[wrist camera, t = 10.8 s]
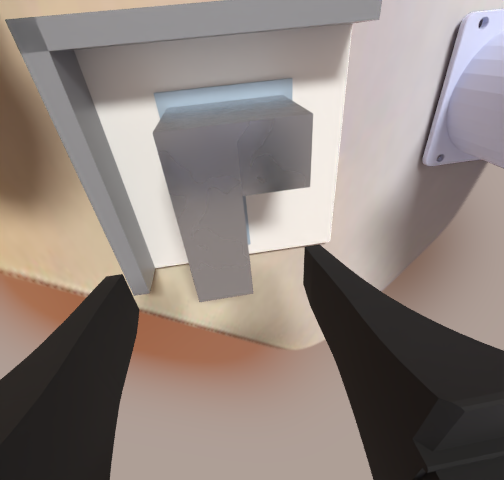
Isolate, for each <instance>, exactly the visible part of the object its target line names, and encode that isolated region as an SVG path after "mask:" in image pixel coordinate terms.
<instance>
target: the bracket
mask: <svg viewBox="0 0 504 480" xmlns="http://www.w3.org/2000/svg"><path fill="white" fill-rule="evenodd" d="M312 133H313V113H312V112H310V111H308V110H307V109H305V108H304V107H302V106H300V105H299V104H297V103H295V102H294V101H292V100H291V99H289V98H287V97H286V96H284V95H276V96H267V97H258V98H249V99H241V100H232V101H223V102H214V103H205V104H197V105H188V106H179V107H170V108H167V109H166V111H165V112H164V114H163V116H162V117H161V119H160V121H159V122H158V124H157V126H156V128H155V129H154V131H153V133H152V134H153V137H154V141H155V144H156V148H157V151H158V155H159V159H160V162H161V166H162V169H163V173H164V176H165V180H166V184H167V187H168V191H169V194H170V198H171V202H172V205H173V209H174V212H175V216H176V219H177V223H178V227H179V230H180V234H181V237H182V241H183V244H184V248H185V252H186V255H187V259H188V262H189V266H190V270H191V273H192V277H193V280H194V284H195V287H196V291H197V295H198V298H199V302H204V301H210V300H216V299H222V298H228V297H235V296H241V295H247V294H253V285H252V276H251V267H250V258H249V249H248V240H247V231H246V222H245V213H244V204H243V196H248V195H255V194H263V193H270V192H277V191H284V190H292V189H299V188H306V187H310V179H311V156H312Z"/></svg>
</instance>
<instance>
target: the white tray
mask: <svg viewBox="0 0 504 480" xmlns="http://www.w3.org/2000/svg"><path fill="white" fill-rule="evenodd" d="M381 4H382V0H224V1H213V2H201V3H190V4H178V5H167V6H155V7H144V8H132V9H121V10H109V11H98V12H86V13H75V14H63V15H52V16H40V17H29V18H18V19H6V20H5V21H6V23H7V25H8V27H9V30H10V32H11V34H12V36H13V38H14V40H15V42H16V44H17V47H18V49H19V51H20V53H21V55H22V57H23V59H24V62H25V64H26V66H27V68H28V70H29V72H30V74H31V77H32V79H33V81H34V83H35V85H36V87H37V89H38V92H39V94H40V96H41V98H42V100H43V102H44V104H45V106H46V109H47V111H48V113H49V115H50V117H51V119H52V121H53V124H54V126H55V128H56V130H57V132H58V134H59V136H60V139H61V141H62V143H63V145H64V147H65V149H66V151H67V153H68V156H69V158H70V160H71V162H72V164H73V166H74V168H75V171H76V173H77V175H78V177H79V179H80V181H81V183H82V186H83V188H84V190H85V192H86V194H87V196H88V198H89V200H90V203H91V205H92V207H93V209H94V211H95V213H96V215H97V218H98V220H99V222H100V224H101V226H102V228H103V230H104V233H105V235H106V237H107V239H108V241H109V243H110V245H111V247H112V250H113V252H114V254H115V256H116V258H117V260H118V262H119V265H120V267H121V269H122V271H123V273H124V275H125V277H126V280H127V282H128V284H129V286H130V288H131V290H132V292H133V294H134V296H135V295H142V294H148V293H150V290H151V285H152V281H153V276H154V272H155V268H160V267H166V266H173V265H179V264H186V263H189V262H188V259H187V255H186V252H185V248H184V244H183V241H182V237H181V234H180V230H179V227H178V223H177V219H176V216H175V212H174V209H173V205H172V202H171V198H170V194H169V191H168V187H167V184H166V180H165V176H164V173H163V169H162V166H161V162H160V159H159V155H158V151H157V148H156V144H155V141H154V137H153V134H152V133H153V131H154V129H155V128H156V126H157V124H158V122H159V121H160V119H161V117H162V116H163V114H164V112H165V111H166V109H167V108H170V107H179V106H188V105H197V104H205V103H214V102H223V101H232V100H241V99H249V98H258V97H267V96H276V95H284V96H286V97H287V98H289V99H291V100H292V101H294V102H295V103H297V104H299V105H300V106H302V107H304V108H305V109H307V110H308V111H310V112H312V113H313V133H312V156H311V179H310V187H306V188H299V189H292V190H284V191H277V192H270V193H263V194H255V195H248V196H243V204H244V213H245V222H246V231H247V240H248V249H249V254H252V253H259V252H265V251H272V250H278V249H285V248H292V247H298V246H305V245H312V244H318V243H325V242H330V237H331V228H332V218H333V208H334V199H335V189H336V179H337V170H338V160H339V150H340V140H341V131H342V121H343V111H344V102H345V92H346V82H347V73H348V63H349V53H350V43H351V34H352V24H353V23H359V22H365V21H372V20H379V17H380V10H381Z"/></svg>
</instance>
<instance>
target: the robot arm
mask: <svg viewBox="0 0 504 480" xmlns="http://www.w3.org/2000/svg"><path fill="white" fill-rule="evenodd" d="M481 19H482V20H483V21H482V25H481V27H480V28H479V27H478V25H479V22H480V20H481ZM439 155H440V157H439V158H438V159H437V157H438V156H439ZM481 159H482V160H484V161H487V162H489V163H492V164H494V165H497V166H499V167H502V168H504V9H498V10H488V11H477V12H472V13H469V14H468V15H466V16H465V17H464V19H463V20H462V22H461V24H460V28H459V31H458V35H457V38H456V42H455V45H454V49H453V52H452V56H451V60H450V63H449V67H448V70H447V74H446V77H445V81H444V84H443V88H442V91H441V95H440V99H439V102H438V106H437V109H436V113H435V116H434V120H433V123H432V127H431V131H430V134H429V138H428V141H427V145H426V148H425V152H424V155H423V160H422V161H423V163H424V164H425V165H427V166H436V165H444V164H451V163H458V162H466V161H473V160H481ZM303 284H304V287H305V291H306V294H307V297H308V300H309V303H310V306H311V308H312V310H313V313H314V315H315V317H316V319H317V321H318V324H319V326H320V328H321V330H322V332H323V334H324V337H325V339H326V341H327V343H328V345H329V347H330V350H331V352H332V354H333V356H334V359H335V361H336V364H337V366H338V369H339V372H340V375H341V378H342V381H343V383H344V386H345V389H346V392H347V395H348V398H349V401H350V404H351V407H352V410H353V413H354V416H355V419H356V423H357V426H358V429H359V432H360V436H361V439H362V442H363V445H364V449H365V452H366V455H367V459H368V462H369V466H370V469H371V473H372V476H373V479H374V480H504V351H503V350H500V349H497V348H495V347H492V346H490V345H487V344H484V343H482V342H479V341H477V340H474V339H472V338H470V337H467V336H465V335H463V334H460V333H458V332H456V331H454V330H451V329H449V328H447V327H445V326H443V325H441V324H438V323H436V322H434V321H432V320H430V319H428V318H426V317H424V316H422V315H420V314H419V313H417V312H415V311H413V310H411V309H409V308H407V307H406V306H404V305H402V304H401V303H399V302H397V301H395V300H394V299H392V298H390V297H389V296H387V295H385V294H384V293H382V292H381V291H379V290H378V289H376V288H375V287H373V286H372V285H371V284H369V283H368V282H366V281H365V280H363V279H362V278H361V277H359V276H358V275H357V274H355V273H354V272H353V271H351V270H350V269H349V268H348V267H346V266H345V265H344V264H343V263H341V262H340V261H339V260H338V259H336V258H335V257H334V256H333V255H332V254H330V253H329V252H328V251H327V250H326V249H324V248H323V247H322V246H321V245H314V246H307V247H305V255H304V281H303ZM138 318H139V308H138V306H137V304H136V302H135V300H134V298H133V295H132V293H131V291H130V289H129V287H128V285H127V283H126V281H125V279H124V276H123V274H121V275H114V276H107V277H106V278H105V279H104V280H102V282H101V283H100V284H99V285H98V286H97V287H96V288H95V289H94V290H93V291H92V292H91V293H90V294H89V295H88V297H87V298H86V299H85V300H84V301H83V302H82V303H81V304H80V305H79V306H78V307H77V308H76V310H75V311H74V312H73V313H72V314H71V315H70V316H69V317H68V318H67V319H66V320H65V321H64V322H63V323H62V324H61V325H60V326H59V327H58V328H57V329H56V330H55V331H54V332H53V333H52V334H51V335H50V336H49V337H48V338H47V339H46V340H45V341H44V342H43V343H42V344H41V345H40V346H39V347H38V348H37V349H35V350H34V351H33V352H32V353H31V354H30V355H29V356H28V357H27V358H26V359H24V360H23V361H22V362H21V363H20V364H19V365H17V366H16V367H15V368H14V369H13V370H12V371H11V372H9V373H8V374H7V375H6V376H4V377H3V378H2V379H1V380H0V480H110V471H111V461H112V453H113V444H114V438H115V430H116V424H117V417H118V410H119V404H120V399H121V394H122V390H123V386H124V382H125V378H126V374H127V371H128V367H129V363H130V359H131V354H132V351H133V347H134V343H135V339H136V334H137V327H138Z"/></svg>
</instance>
